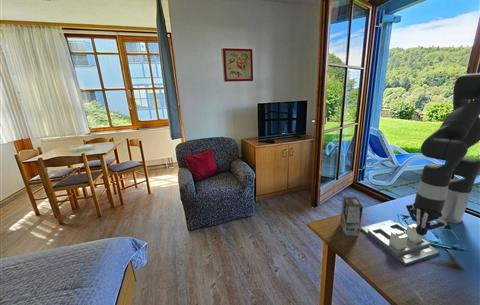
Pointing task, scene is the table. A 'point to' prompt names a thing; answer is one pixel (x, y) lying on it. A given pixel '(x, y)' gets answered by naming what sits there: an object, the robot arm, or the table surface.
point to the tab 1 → (398, 239)
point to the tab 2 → (413, 234)
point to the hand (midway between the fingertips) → (420, 233)
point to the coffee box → (351, 216)
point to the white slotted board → (406, 255)
